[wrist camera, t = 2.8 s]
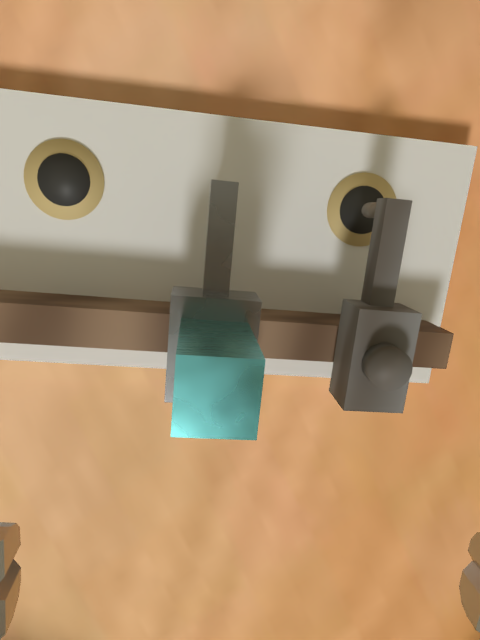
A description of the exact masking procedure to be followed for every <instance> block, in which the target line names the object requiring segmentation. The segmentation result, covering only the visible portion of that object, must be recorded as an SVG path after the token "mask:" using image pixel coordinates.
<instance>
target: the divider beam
mask: <svg viewBox="0 0 480 640" xmlns="http://www.w3.org/2000/svg"><path fill="white" fill-rule="evenodd" d="M412 201H413V200H404V199H394V198H377V202H369V203H366V204H364V206H363V207H362V214H363V216H364V217H366V218H374V221H373V227H372V233H371V239H370V246H369V252H368V258H367V264H366V271H365V277H364V283H363V289H362V295H361V300H354V299H343V301H342V308H341V314H332V313H318V312H304V311H290V310H276V309H263V308H261V316H260V326H259V335H258V344H259V346H260V349H261V351H262V353H263V355H264V357H265V358H271V359H287V360H304V361H321V362H333V368H332V374H331V381H330V388H329V391H330V393H331V394H332V395H333V397H334V398H335V399H336V401H337V402H338V404H339V405H340V406H341V408H342V409H343V410H345V411H366V412H388V413H403V410H404V404H405V399H406V394H407V389H408V384H409V379H410V377H411V374H412V369H413V367H422V368H439V369H446V367H447V363H448V358H449V353H450V349H451V344H452V339H453V335H454V334H453V333H451V332H449V331H447V330H445V329H443V328H441V327H439V326H436V325H434V324H432V323H430V322H428V321H426V320H421V317H422V313H420V312H418V311H415V310H413V309H411V308H409V307H407V306H405V305H403V304H400V303H394V301H395V296H396V290H397V284H398V279H399V273H400V268H401V262H402V257H403V251H404V245H405V240H406V234H407V229H408V223H409V217H410V212H411V206H412ZM169 317H170V302H166V301H152V300H138V299H124V298H110V297H97V296H83V295H69V294H55V293H41V292H27V291H14V290H0V342H1V343H18V344H34V345H51V346H68V347H85V348H102V349H119V350H136V351H152V352H167V351H168V334H169Z"/></svg>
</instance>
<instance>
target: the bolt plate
mask: <svg viewBox="0 0 480 640" xmlns="http://www.w3.org/2000/svg"><path fill="white" fill-rule="evenodd" d="M476 151H477V146H470V145H462V144H454V143H445V142H437V141H429V140H421V139H412V138H404V137H396V136H388V135H380V134H371V133H363V132H355V131H347V130H339V129H330V128H322V127H314V126H306V125H297V124H289V123H281V122H273V121H265V120H256V119H248V118H240V117H232V116H224V115H215V114H207V113H199V112H191V111H182V110H174V109H166V108H158V107H150V106H141V105H133V104H125V103H117V102H109V101H100V100H92V99H84V98H76V97H67V96H59V95H51V94H43V93H35V92H26V91H18V90H10V89H2V88H0V290H14V291H27V292H41V293H55V294H69V295H83V296H97V297H110V298H124V299H138V300H152V301H166V302H170V300H171V293H172V289H173V286H184V287H197V288H203V275H204V262H205V249H206V235H207V222H208V209H209V195H210V182H211V179H213V180H222V181H232V182H239V187H238V198H237V209H236V220H235V232H234V243H233V254H232V265H231V276H230V287H229V290H236V291H249V292H256V294H257V295H258V297H259V298H260V300H261V301H262V307H261V308H263V309H276V310H290V311H304V312H318V313H332V314H341V308H342V301H343V299H354V300H361V295H362V289H363V283H364V277H365V271H366V264H367V258H368V252H369V246H370V239H371V233H372V227H373V221H374V218H366V217H364V216H363V214H362V207H363V206H364V204H366V203H369V202H377V198H394V199H404V200H413V201H412V206H411V212H410V217H409V223H408V229H407V234H406V240H405V245H404V251H403V257H402V262H401V268H400V273H399V279H398V284H397V290H396V296H395V301H394V303H400V304H403V305H405V306H407V307H409V308H411V309H413V310H415V311H418V312H420V313H422V317H421V320H426V321H428V322H430V323H432V324H434V325H436V326H439V327H440V326H441V321H442V316H443V311H444V306H445V301H446V296H447V292H448V287H449V282H450V277H451V272H452V267H453V263H454V258H455V253H456V248H457V243H458V238H459V234H460V229H461V224H462V219H463V214H464V209H465V204H466V200H467V195H468V190H469V185H470V180H471V175H472V171H473V166H474V161H475V156H476ZM0 360H17V361H35V362H53V363H71V364H89V365H108V366H126V367H144V368H162V369H166V368H167V352H152V351H136V350H119V349H102V348H85V347H68V346H51V345H34V344H18V343H1V342H0ZM332 368H333V362H321V361H304V360H287V359H271V358H265V369H264V374H271V375H289V376H307V377H325V378H331V374H332ZM431 369H432V368H422V367H413V369H412V374H411V377H410V379H409V382H416V383H429V379H430V374H431Z"/></svg>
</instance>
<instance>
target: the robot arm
mask: <svg viewBox="0 0 480 640" xmlns="http://www.w3.org/2000/svg"><path fill="white" fill-rule="evenodd" d="M20 545H21V542H20V527H19V526H18V525H17V524H16V523H4V522H0V639H1V638H2V637H3V636H4V635H5V634H6V632H7V630H8V628H9V625H10V623H11V621H12V618H13V615H14V612H15V608H16V604H17V601H18V597H19V591H20V583H21V567H20V566H19V565H18V564H17V562H16V561H15V560H14V557H15V555H16V553H17V551H18V549H19V547H20ZM468 552H469V554H470V556H471V558H472V560H473V561H472V562H471V563H470V564H469V565H468V566H467V567H466V568H465V569H464V570H463V571H462V575H461V580H460V585H459V589H460V595H461V602H462V605H463V608H464V610H465V613H466V615H467V617H468V618H469V620H470V622H471V623H472V625H473V626H474V628H475V629H476V630H477V631H478V632H480V532H477V533H476V534H475V535H474V536H473V537H472V539H471V541H470V544H469V548H468Z"/></svg>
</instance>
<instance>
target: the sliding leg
mask: <svg viewBox="0 0 480 640" xmlns="http://www.w3.org/2000/svg"><path fill="white" fill-rule="evenodd" d="M238 187H239V182H232V181H222V180H213V179H211V182H210V195H209V209H208V222H207V235H206V249H205V262H204V275H203V288H197V287H184V286H173V289H172V293H171V300H170V317H169V334H168V351H167V368H166V386H165V402H173V408H172V423H171V437H184V438H210V439H237V440H257V431H258V422H259V413H260V405H261V396H262V387H263V378H264V369H265V357H264V355H263V353H262V351H261V349H260V346H259V344H258V335H259V326H260V316H261V307H262V301H261V300H260V298H259V297H258V295H257V294H256V292H249V291H236V290H229V287H230V276H231V265H232V254H233V243H234V232H235V220H236V209H237V198H238Z"/></svg>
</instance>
